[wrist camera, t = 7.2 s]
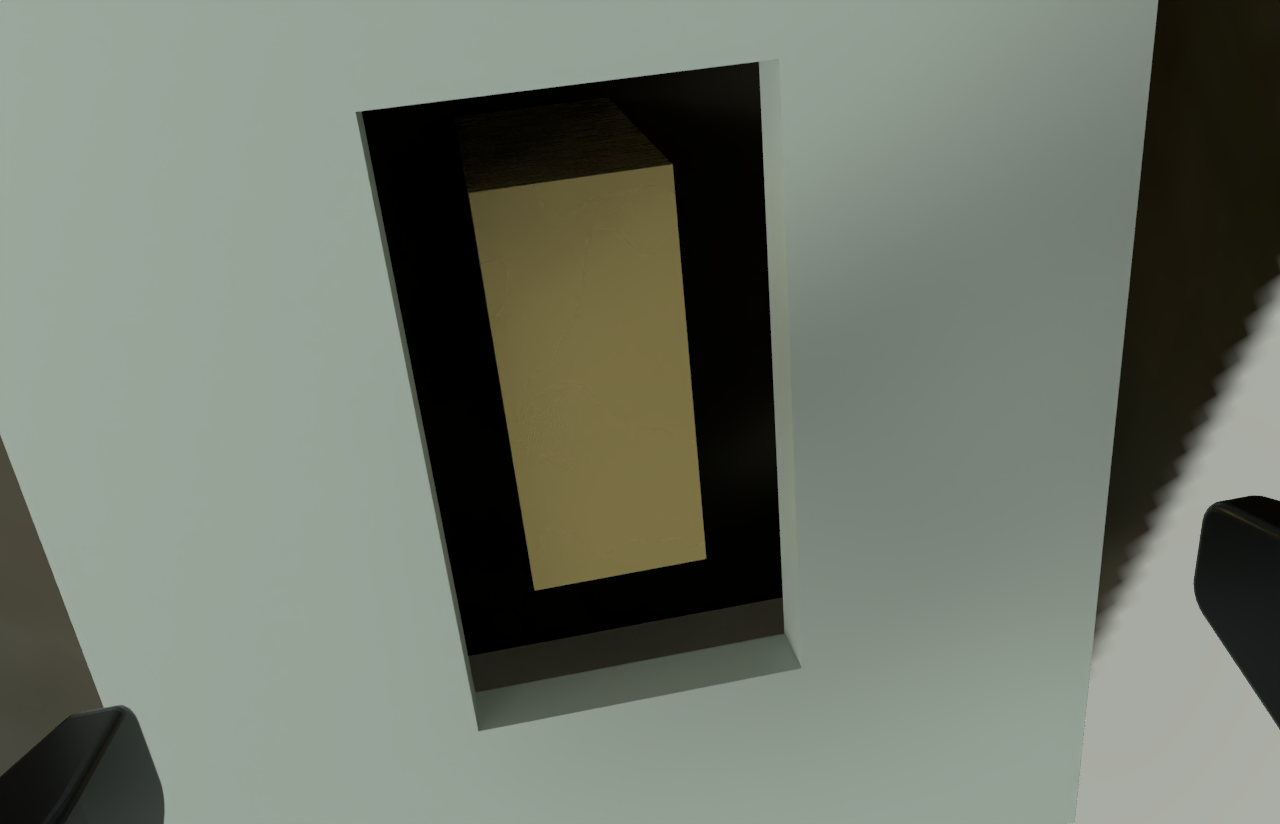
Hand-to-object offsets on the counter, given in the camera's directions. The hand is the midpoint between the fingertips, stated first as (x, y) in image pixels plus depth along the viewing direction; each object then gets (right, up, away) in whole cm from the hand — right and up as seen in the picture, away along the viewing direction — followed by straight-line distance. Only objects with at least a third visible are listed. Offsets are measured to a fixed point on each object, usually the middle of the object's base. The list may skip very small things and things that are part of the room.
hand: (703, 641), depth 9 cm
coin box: (-2, +4, +9) cm, 10 cm away
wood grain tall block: (-2, +4, +9) cm, 11 cm away
